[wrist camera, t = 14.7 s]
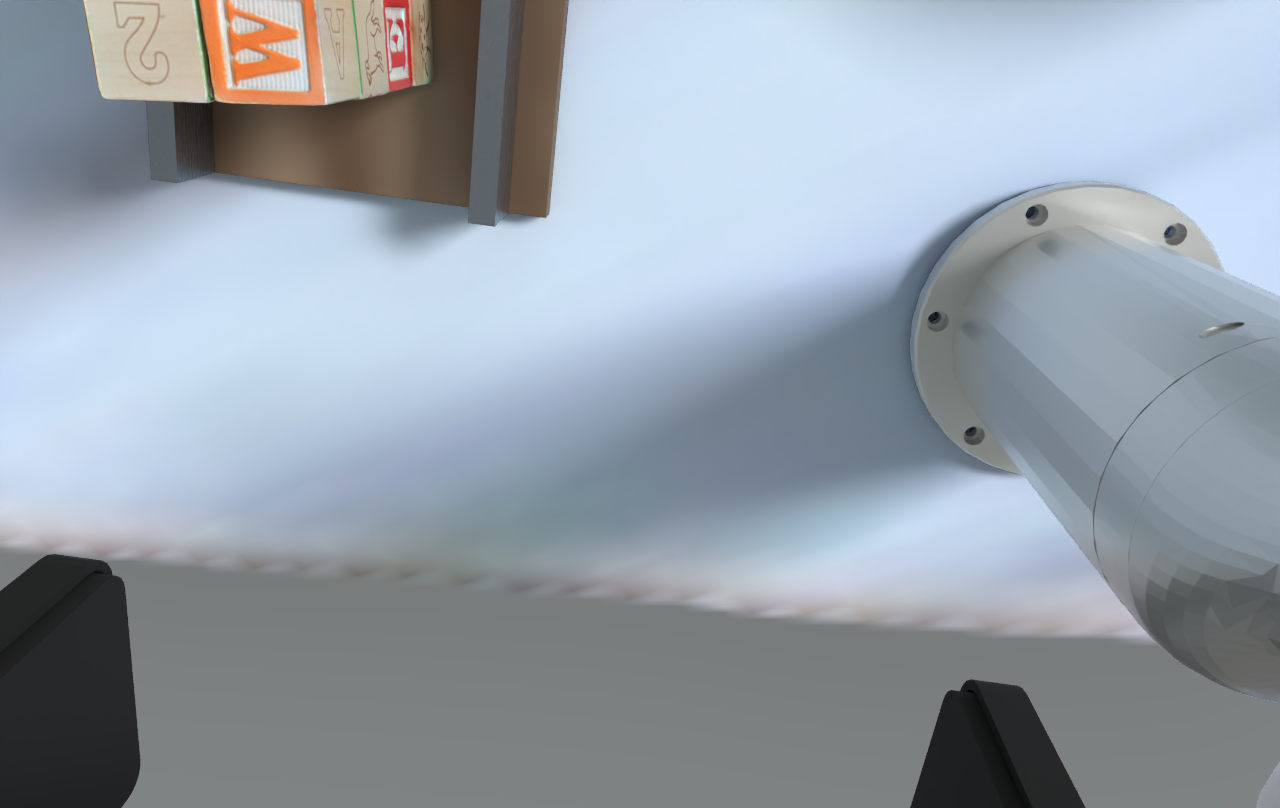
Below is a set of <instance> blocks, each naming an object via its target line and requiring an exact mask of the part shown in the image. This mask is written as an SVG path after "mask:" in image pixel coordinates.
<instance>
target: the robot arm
mask: <svg viewBox="0 0 1280 808" xmlns="http://www.w3.org/2000/svg"><path fill="white" fill-rule="evenodd" d="M1031 206H1034V208H1035V213H1034V214H1033V216H1031V217H1029V218H1026V216H1025V214H1026V212H1027V210H1028V208H1030V207H1031ZM1169 226H1170V232H1169V233H1168V234H1167V235H1165V236H1164V232H1165V231H1166V229H1167V227H1169ZM934 312H938V318H937V319H936V320H934V321H929V320H928V317H929V316H930V315H931V314H932V313H934ZM910 354H911V363H912V372H913V376H914V379H915V382H916V385H917V388H918V391H919V394H920V397H921V399H922V400H923V402H924V404H925V405H926V407H927V409H928V411H929V413H930V414H931V416H932V417H933V419H934V420H935V421H936V423H937V424H938V425H939V427H940V428H941V429H942V431H943V432H944V433H945V435H946V436H947V437H948V438H950V439H951V440H952V441H953V442H954V443H955V444H956V445H957V446H958V447H959V448H961V449H962V450H963V451H965V452H966V453H968V454H970V455H972V456H973V457H975V458H977V459H979V460H980V461H982V462H984V463H986V464H988V465H990V466H993V467H996V468H1000V469H1003V470H1006V471H1009V472H1012V473H1017V474H1023V475H1024V476H1025V478H1026V479H1027V480H1028V482H1029V483H1030V484H1031V486H1032V487H1033V488H1034V489H1035V491H1036V492H1037V493H1038V495H1039V496H1040V497H1041V499H1042V500H1043V501H1044V502H1045V504H1046V505H1047V506H1048V508H1049V509H1050V510H1051V512H1052V513H1053V514H1054V515H1055V517H1056V518H1057V519H1058V521H1059V522H1060V523H1061V525H1062V526H1063V527H1064V528H1065V530H1066V531H1067V532H1068V534H1069V535H1070V536H1071V538H1072V539H1073V540H1074V541H1075V543H1076V544H1077V545H1078V547H1079V548H1080V549H1081V551H1082V552H1083V553H1084V554H1085V556H1086V557H1087V558H1088V560H1089V561H1090V562H1091V564H1092V565H1093V566H1094V568H1095V569H1096V570H1097V571H1098V573H1099V574H1100V575H1101V577H1102V578H1103V579H1104V581H1105V582H1106V583H1107V584H1108V586H1109V587H1110V588H1111V590H1112V591H1113V592H1114V594H1115V595H1116V596H1117V597H1118V599H1119V600H1120V601H1121V603H1122V604H1123V605H1124V606H1125V607H1126V608H1127V610H1128V611H1129V612H1130V613H1131V615H1132V616H1133V617H1134V619H1135V620H1136V621H1137V622H1138V624H1139V625H1140V626H1141V627H1142V628H1143V629H1144V630H1145V631H1146V632H1147V634H1148V635H1149V636H1150V637H1151V638H1152V639H1153V640H1154V641H1155V642H1156V643H1157V644H1158V645H1159V646H1160V647H1161V648H1163V649H1164V650H1165V651H1166V652H1167V653H1169V654H1170V655H1171V656H1172V657H1173V658H1175V659H1176V660H1178V661H1179V662H1180V663H1181V664H1183V665H1185V666H1186V667H1188V668H1189V669H1191V670H1193V671H1194V672H1196V673H1198V674H1200V675H1201V676H1203V677H1205V678H1207V679H1209V680H1211V681H1213V682H1215V683H1217V684H1219V685H1222V686H1224V687H1226V688H1228V689H1231V690H1234V691H1237V692H1239V693H1242V694H1246V695H1249V696H1253V697H1257V698H1260V699H1265V700H1269V701H1273V702H1278V703H1280V296H1278V295H1275V294H1273V293H1271V292H1269V291H1266V290H1264V289H1262V288H1259V287H1257V286H1255V285H1252V284H1250V283H1248V282H1246V281H1243V280H1241V279H1239V278H1236V277H1234V276H1232V275H1229V274H1227V273H1225V272H1224V269H1223V266H1222V264H1221V262H1220V260H1219V258H1218V256H1217V253H1216V251H1215V249H1214V247H1213V245H1212V243H1211V242H1210V241H1209V240H1208V238H1207V237H1206V236H1205V234H1204V233H1203V232H1202V231H1201V229H1200V228H1199V227H1198V226H1197V224H1196V223H1195V222H1194V221H1193V220H1191V219H1190V218H1189V217H1188V216H1186V215H1185V214H1184V213H1182V212H1181V211H1180V210H1179V209H1177V208H1176V207H1175V206H1174V205H1172V204H1170V203H1168V202H1166V201H1164V200H1162V199H1160V198H1158V197H1155V196H1153V195H1151V194H1149V193H1147V192H1144V191H1141V190H1138V189H1135V188H1131V187H1128V186H1125V185H1120V184H1112V183H1105V182H1098V181H1083V182H1065V183H1059V184H1055V185H1050V186H1046V187H1042V188H1038V189H1034V190H1031V191H1028V192H1026V193H1024V194H1021V195H1019V196H1017V197H1014V198H1012V199H1010V200H1008V201H1005V202H1003V203H1001V204H1000V205H998V206H997V207H995V208H994V209H992V210H990V211H989V212H987V213H986V214H984V215H983V216H981V217H980V218H978V219H977V220H975V221H974V222H973V223H972V224H971V225H970V226H969V227H968V228H967V229H966V230H965V231H963V232H962V233H961V234H960V235H959V236H958V237H957V238H956V239H955V240H954V241H953V242H952V243H951V244H950V246H949V247H948V248H947V250H946V251H945V252H944V253H943V255H942V256H941V257H940V259H939V260H938V261H937V263H936V264H935V265H934V267H933V269H932V271H931V273H930V275H929V277H928V278H927V280H926V282H925V284H924V286H923V288H922V290H921V292H920V295H919V299H918V302H917V305H916V309H915V312H914V315H913V319H912V327H911V338H910ZM970 427H974V428H973V430H972V431H971V432H967V433H966V430H967V429H969V428H970ZM132 673H133V672H132V661H131V650H130V639H129V627H128V617H127V605H126V594H125V586H124V582H123V581H122V579H121V578H120V577H118V576H113V575H112V571H111V568H110V567H109V566H108V564H107V563H105V562H103V561H101V560H93V559H86V558H79V557H71V556H64V555H57V554H53V555H47V556H45V557H43V558H42V559H40V560H39V561H38V562H36V563H35V564H34V565H33V566H31V567H30V568H29V569H27V570H26V571H25V572H24V573H22V574H21V575H20V576H19V577H17V578H16V579H15V580H14V581H13V582H11V583H10V584H9V585H7V586H6V587H5V588H4V589H3V590H1V591H0V808H121V807H122V806H123V805H124V803H125V802H126V801H127V799H128V798H129V796H130V795H131V793H132V791H133V789H134V787H135V784H136V782H137V779H138V775H139V770H140V752H139V740H138V729H137V718H136V707H135V695H134V684H133V674H132ZM910 808H1085V806H1084V804H1083V802H1082V800H1081V798H1080V797H1079V794H1078V792H1077V791H1076V789H1075V787H1074V785H1073V783H1072V781H1071V779H1070V777H1069V775H1068V773H1067V771H1066V769H1065V767H1064V765H1063V763H1062V762H1061V760H1060V758H1059V756H1058V754H1057V752H1056V750H1055V748H1054V746H1053V744H1052V742H1051V740H1050V738H1049V736H1048V734H1047V733H1046V731H1045V729H1044V727H1043V725H1042V723H1041V721H1040V719H1039V717H1038V715H1037V713H1036V711H1035V709H1034V707H1033V705H1032V703H1031V702H1030V699H1029V698H1028V696H1027V694H1026V693H1025V691H1024V690H1023V689H1022V688H1021V687H1019V686H1015V685H1008V684H1007V685H1006V684H1000V683H993V682H985V681H978V680H968V681H966V682H965V683H964V684H963V686H962V688H961V690H960V691H953V690H950V691H948V692H947V694H946V695H945V697H944V700H943V703H942V706H941V709H940V713H939V716H938V719H937V722H936V726H935V729H934V732H933V736H932V739H931V742H930V746H929V749H928V752H927V755H926V758H925V762H924V765H923V768H922V772H921V775H920V778H919V781H918V785H917V788H916V791H915V794H914V798H913V801H912V804H911V807H910ZM1256 808H1280V761H1279V763H1278V765H1277V766H1276V768H1275V770H1274V771H1273V773H1272V774H1271V776H1270V777H1269V779H1268V781H1267V782H1266V784H1265V785H1264V787H1263V789H1262V791H1261V792H1260V794H1259V798H1258V802H1257V806H1256Z"/></svg>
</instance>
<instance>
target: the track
mask: <svg viewBox="0 0 1280 808" xmlns="http://www.w3.org/2000/svg"><path fill="white" fill-rule="evenodd" d="M568 1H569V0H431V15H432V38H433V60H434V81H433V83H430V84H426V85H420V86H410V87H408V88H404V89H400V90H396V91H392V92H388V93H386V94H384V95H380V96H374V97H372V98H367V99H363V100H347V101H343V102H338V103H334V104H329V105H316V106H312V105H271V104H241V103H223V102H217V101H213V102H210V103H193V102H170V101H146V104H147V120H148V136H149V151H150V167H151V179H152V180H159V181H167V182H174V183H180V182H183V181H187V180H190V179H194V178H197V177H201V176H205V175H208V174H212V173H215V172H216V173H223V174H230V175H238V176H245V177H252V178H260V179H267V180H274V181H281V182H289V183H296V184H303V185H311V186H318V187H325V188H332V189H340V190H347V191H354V192H362V193H369V194H376V195H383V196H391V197H398V198H405V199H412V200H420V201H427V202H434V203H442V204H449V205H456V206H463V207H469V219H468V223H472V224H480V225H487V226H494V227H495V226H496V225H497V224H498V223H499V222H500V221H501V220H502V219H503V218H504V217H505V216H506V215H507V214H508V213H514V214H522V215H529V216H536V217H543V218H546V217H547V215H548V214H549V209H550V198H551V187H552V176H553V165H554V154H555V143H556V132H557V121H558V110H559V99H560V88H561V77H562V66H563V56H564V45H565V34H566V23H567V12H568Z"/></svg>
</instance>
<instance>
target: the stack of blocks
mask: <svg viewBox="0 0 1280 808" xmlns="http://www.w3.org/2000/svg"><path fill="white" fill-rule="evenodd" d="M83 2H84V7H85V13H86V19H87V25H88V30H89V36H90V42H91V48H92V53H93V59H94V65H95V71H96V76H97V82H98V88H99V91H100V93H101V96H102V97H103V98H104V99H119V100H146V101H170V102H193V103H210V102H213V101H217V102H223V103H241V104H271V105H312V106H316V105H329V104H334V103H338V102H343V101H347V100H363V99H367V98H372V97H374V96H380V95H384V94H386V93H388V92H392V91H396V90H400V89H404V88H408V87H410V86H420V85H426V84H430V83H433V81H434V60H433V38H432V15H431V0H83Z"/></svg>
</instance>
